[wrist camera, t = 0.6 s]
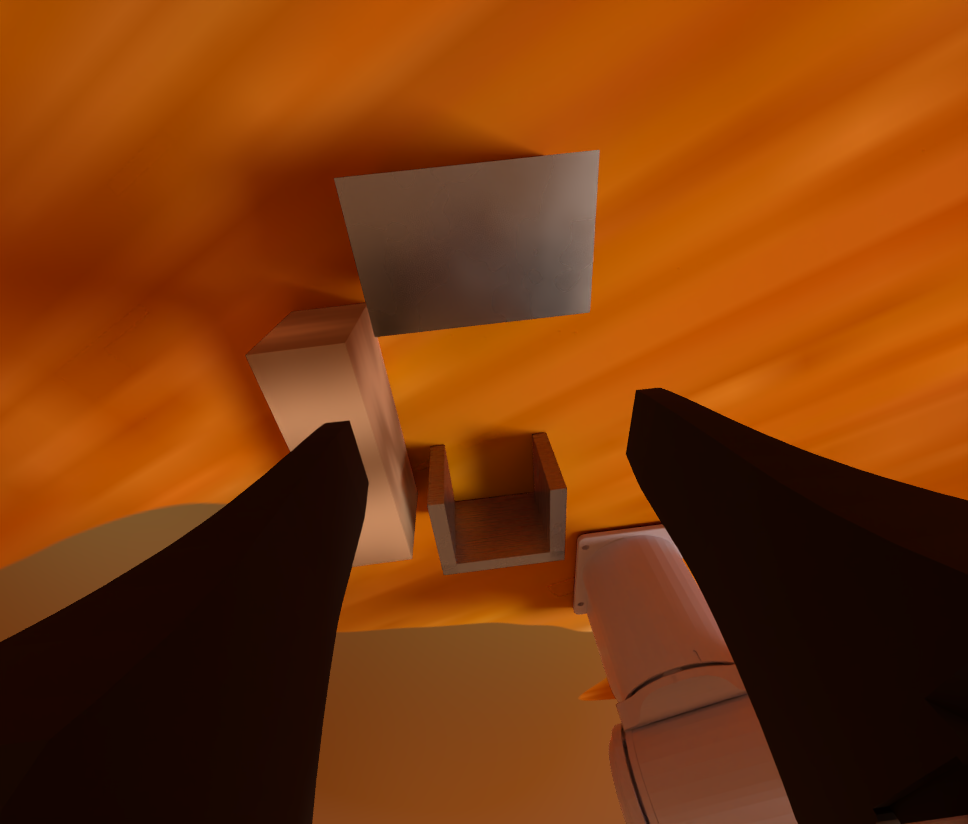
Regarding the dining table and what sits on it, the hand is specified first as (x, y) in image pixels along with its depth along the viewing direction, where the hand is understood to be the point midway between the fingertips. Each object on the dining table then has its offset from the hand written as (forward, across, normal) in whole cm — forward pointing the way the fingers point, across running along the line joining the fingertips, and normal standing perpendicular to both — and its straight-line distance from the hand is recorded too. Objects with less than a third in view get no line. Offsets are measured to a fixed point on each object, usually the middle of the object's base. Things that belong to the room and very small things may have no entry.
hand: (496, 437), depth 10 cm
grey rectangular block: (+10, 0, -4) cm, 11 cm away
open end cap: (+10, 0, +10) cm, 14 cm away
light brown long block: (+10, +6, +5) cm, 13 cm away
